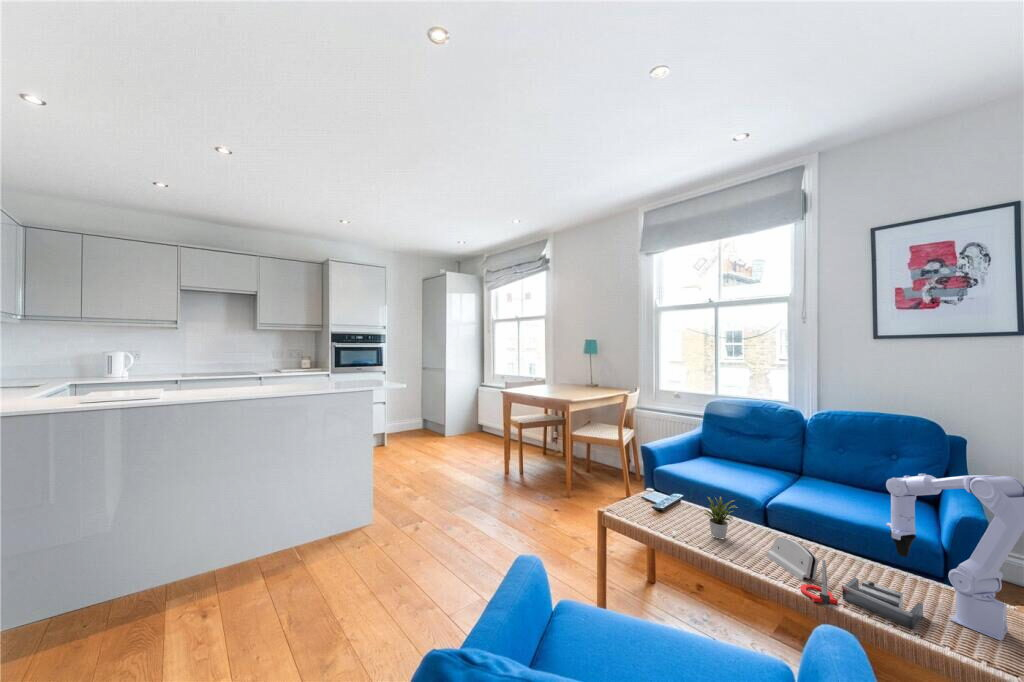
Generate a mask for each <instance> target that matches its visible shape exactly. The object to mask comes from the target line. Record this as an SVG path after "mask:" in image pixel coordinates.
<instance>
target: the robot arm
mask: <svg viewBox="0 0 1024 682" xmlns="http://www.w3.org/2000/svg"><path fill="white" fill-rule="evenodd" d="M885 487H886V490H887V491H888V493H889V494H890V522H887V523H885V524H886V525H885V526H886V527H888V528H890V530H891V531H889V536H890V537H891V539H892V540H893V542H894V545H895V549H896V553H897V555H899V556H901V557H904V558H907V557H908V556H909V554H910V550H911V547H912V545H913V543H914V541H915V539H916V538H917V535H916V533H917V531H916V515H915V514H916V511H915V510H916V501H917V496H931V495H932V496H933V495H939V494H941V492H942V490H957V489H958V490H960V489H964V490H966V492H967V493H968V494H973V495H974V496H975V497H976V498H977V499H978V501H980V502H981V503H982V504H983V505H984V507H986V508H987V509H988V510H989V511H990V512H991V513H992V514H993V515H994V517H993V519H992V520H991V522H990V523H989V525H988V527H987V528H986V530H985V532H983V533H984V534H983V535H982V536H981V538H980V539H979V542H978V543H977V545H976V547H974V548H975V549H974V550H973V552H972V553H971V555H970V557H969V558H968V559H967V560H964V561H963V562H960V563H959V564H958V566H957V567H956V568H953V569H950V570H949V572H948V580H949V582H950V584H951V585H952V586H953V588H954V590H955V613H954V615H953V616H952V617H951V619H950V621H951V622H953V623H956V624H958V625H959V626H960V625H961V626H963V627H965V628H967V629H971V630H973V631H975V632H978V633H980V634H983V635H985V636H988V637H990V638H992V639H996V640H998V641H1001V642H1002V641H1003V640H1004V638H1005V636H1006V634H1007V633H1008V617H1007V616H1008V613H1007V612H1008V609H1007V603H1005V602H1002V601H1000V600H998V599H997V598H996V593H999V592H1000V591H1001V590H1002V587H1003V585H1002V579H1003V577H1004V574H1003V573H1002V572H1001V571H1000V569H1001V568H1002V566H1003V564H1004V563H1005V562H1006V560H1007V558H1008V557H1009V555H1010V553H1011V552H1012V550H1013V548H1014V547H1015V546H1016V544H1017V542H1018V541H1019V540H1020V538H1021V537H1022V534H1023V533H1024V483H1023V482H1022V481H1021V480H1020V479H1017V478H1016V477H1014V476H1010V475H1000V476H997V475H985V474H984V475H983V474H982V475H981V474H979V475H977V474H975V475H973V474H972V475H971V474H970V475H959V476H950V477H941V478H937V477H935V476H933V475H932V474H931V475H930V474H926V473H918V474H917V475H915V476H911V475H903V477H891V478H888V479H887V480H886V482H885Z"/></svg>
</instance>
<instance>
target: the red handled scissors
mask: <svg viewBox="0 0 1024 682" xmlns="http://www.w3.org/2000/svg"><path fill="white" fill-rule="evenodd" d="M821 563H822V566H821V586H817V585H815V584H809V583H808V584H802V585H801V586H800V587H799V588H800V592H801V593H802V594H804V595H805V596H806V597H808V598H810V599H811V600H812V602H813V603H821V604H827V605H831V604H832V605H833V604H834V605H838V604H839V602H838V601H839V600H838V599H837V598H835V597H834V595H833V593H832V592H830V591H829V590H828V581H827V580H828V579H827V578H828V575H827V572H828V571H827V566H826V564H827V563H826V560H825V559H822V562H821ZM808 590H815V591H818V592H819V596H818V595H817V594H816V595H815V594H813V593H811V592H809V591H808Z"/></svg>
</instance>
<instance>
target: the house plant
mask: <svg viewBox="0 0 1024 682" xmlns="http://www.w3.org/2000/svg"><path fill="white" fill-rule="evenodd" d="M707 499H708V500H709V502H710V505H709V509H710V511H709V510H708V509H706V508H705V509H704V508H703V509H704V511H706V512H704V513H703V515H705V516H708V517H710V518H709V520H708V522H709V527H710V534H712V535H713V536H715V537H718V538H725V537H727V531H728V526H729V522H728V521H730V522H732V520H733V516H731V515H729V514H731V513H732V512H734V510H731V511H730V509H731V508H735V509H736V508H739V507H738V506H737V505H734V504H733V505H730V504H732V502H736V501H737V500H730V501H728V502H727V503H723V499H722V496H719V500H718V499H717V497H714V499H715V500H716V505H715V502H714V501H713V500H712V499H711V497H710V496H707ZM729 505H730V506H729ZM727 507H728V508H727ZM712 535H711V536H712ZM725 539H726V538H725Z"/></svg>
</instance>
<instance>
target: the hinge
mask: <svg viewBox="0 0 1024 682" xmlns="http://www.w3.org/2000/svg"><path fill="white" fill-rule="evenodd" d="M765 557H767V558H768V559H770V560H771V561H773V562H774V563H775V562H776V564H777V565H778V566H780V567H781V568H783V569H784V570H785V571H787V572H789V573H790V574H791V575H793V576H794V577H795V578H797V579H798V580H800V581H801V582H802V581H804V578H807V579H811V580H813V581H815V580H816V576H817V570H818V564H819V559H818V557H816V555H815V554H814V553H813V552H812V551H811V550H810V549H809V548H807V547H806V546H805V545H803V544H802V543H800V542H799V541H796V540H793V539H790V538H787V537H782V536H776V538H775V539H774V541H773V544H772V546H771V548H770V550H767V552H766V555H765Z"/></svg>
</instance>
